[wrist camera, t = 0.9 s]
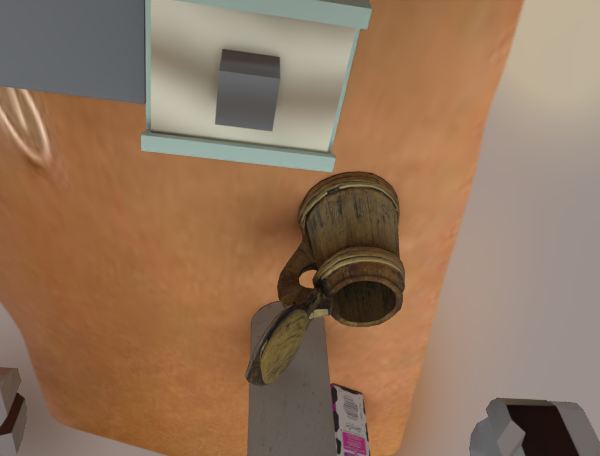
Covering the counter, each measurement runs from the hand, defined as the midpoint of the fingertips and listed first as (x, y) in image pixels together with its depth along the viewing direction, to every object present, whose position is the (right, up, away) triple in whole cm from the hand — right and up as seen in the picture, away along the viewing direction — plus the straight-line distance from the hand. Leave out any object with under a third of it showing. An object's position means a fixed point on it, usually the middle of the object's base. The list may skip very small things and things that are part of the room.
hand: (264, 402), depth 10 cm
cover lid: (-3, +13, +27) cm, 30 cm away
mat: (-16, +18, +30) cm, 39 cm away
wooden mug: (+3, +5, +43) cm, 43 cm away
